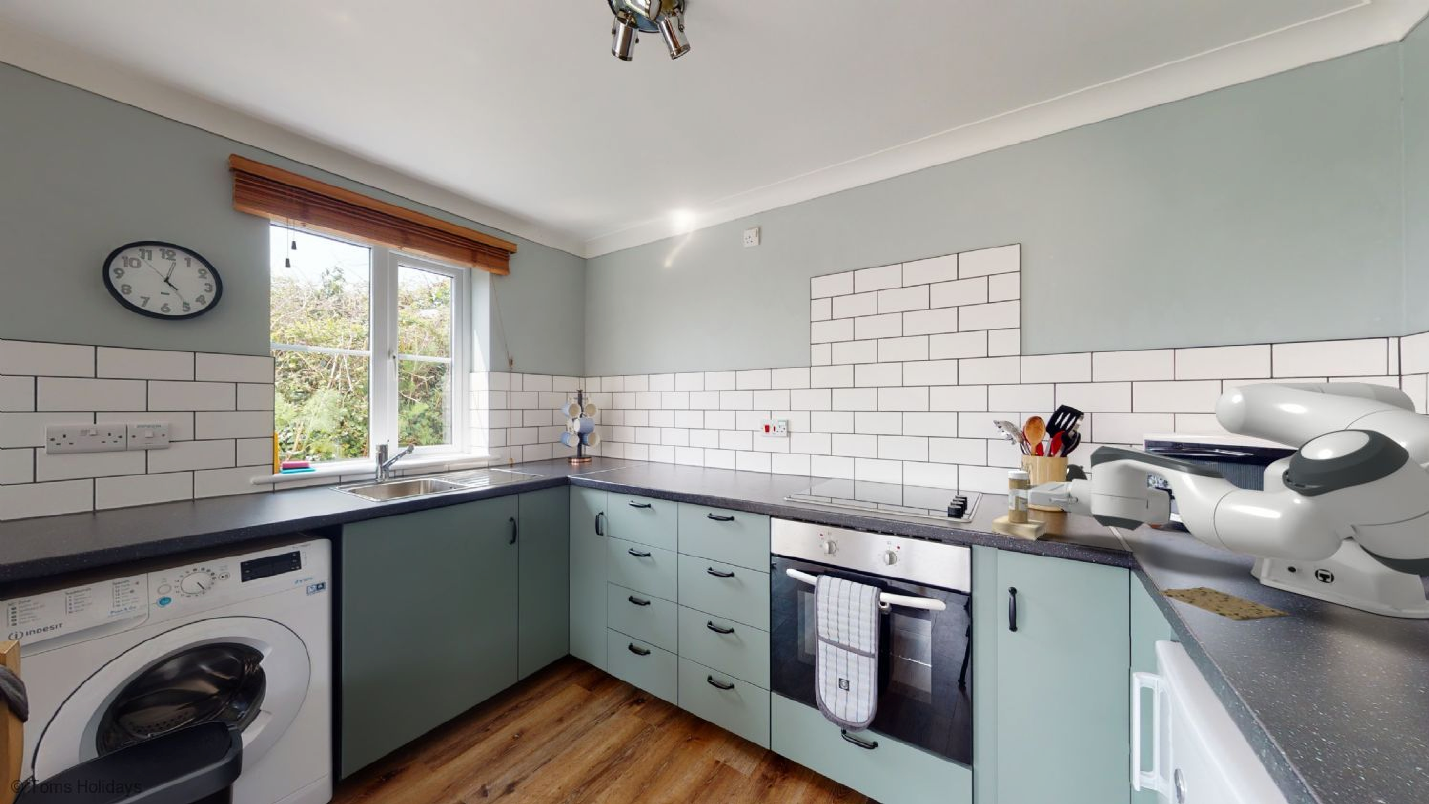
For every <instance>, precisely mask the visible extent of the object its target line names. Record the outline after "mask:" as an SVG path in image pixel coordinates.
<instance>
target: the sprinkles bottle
mask: <svg viewBox="0 0 1429 804" xmlns="http://www.w3.org/2000/svg"><path fill="white" fill-rule="evenodd" d="M1007 473H1008V475H1007V476H1008V477H1007V478H1008V516H1009V518H1008V520H1009V521H1011V522H1015V523H1027V522H1028V520H1027V519H1028V510H1029V508H1028V507H1029V505H1028V504H1029V503H1028V499H1025V498H1022V497H1019V496H1013V495H1012V494H1011V492H1012V489H1014V488H1017V489H1022V490H1027V489H1028V488H1027V486H1028V485H1029V484H1028V481H1029V471H1024V470H1008V472H1007ZM1027 484H1028V485H1027Z"/></svg>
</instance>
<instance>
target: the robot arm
mask: <svg viewBox="0 0 1429 804" xmlns="http://www.w3.org/2000/svg"><path fill="white" fill-rule="evenodd" d="M1214 409H1215V410H1214V412H1215V417H1216V420H1217V422H1218V423H1219V425H1221V427H1222V428H1223V429H1224V430H1226V432H1228V433H1230V434H1235V435H1239V436H1240V435H1241V436H1244V437H1245V436H1246V437H1249V438H1250V437H1251V438H1255V439H1256V438H1257V439H1261V440H1266V441H1269V442H1273V443H1277V444H1281V445H1284V446H1287V447H1291V448H1296V449H1298V450H1296V452H1295V453H1293V454H1292V455H1290V456H1286V457H1284V458H1280V459H1278V460H1275V461H1273V462H1272V463H1270V464H1269V465H1268V466H1267V467H1266V468H1265V470H1264V472H1263V490H1255V489H1246V488H1240V487H1239V486H1236V485H1234V484H1233V483H1231V482H1230V481H1228V480H1227V479H1226V478H1225V476H1224V475H1223V474H1222V472H1221V471H1220V470H1217V469H1215V468H1213V467H1210V466H1207V465H1203V464H1200V463H1197V462H1192V461H1187V460H1183V459H1179V458H1176V457H1175V458H1174V457H1170V456H1165V455H1160V454H1157V453H1156V454H1155V453H1152V452H1147V451H1144V450H1140V449H1138V448H1136V447H1132V446H1128V445H1124V444H1105V445H1101V446H1099V447H1098V448H1096V449H1095V451H1093V452H1092V453H1091V455H1090V456H1089V457H1090V469H1091V478H1090V479H1091V480H1089V479H1088V480H1081V479H1073V480H1072V482H1056V481H1048V482H1046V483H1045V482H1044V483H1042V484H1028V483H1027V485H1028V486H1027V488H1028V489H1027V490H1022V489H1017V488H1014V489H1012V492H1011V494H1012V495H1013V496H1019V497H1022V498H1025V499H1028V504H1030V505H1033V506H1038V507H1039V506H1040V507H1049V508H1059V509H1060V508H1063V507H1064V508H1068V509H1070V511H1071V512H1070V513H1071V514H1072V515H1075V516H1080V517H1081V516H1083V517H1087V518H1088V517H1090V518H1093V519H1095V520H1096V522H1097V523H1099V524H1100V525H1101V526H1102V527H1111V528H1119V529H1125V530H1128V531H1132V532H1134V531H1135V530H1136V529H1139V527H1141V526H1143V525H1148V524H1158V525H1162V526H1164V525H1167V524H1168V523H1169V522H1170V520H1171V516H1172V502H1171V500H1172V498H1171V496H1170V494H1169V492H1168V491H1165V490H1162V489H1158V488H1154V487H1153V488H1152V487H1149V486H1148V478H1149V477H1148V475H1149V474H1151V475H1153V476H1154V475H1155V476H1157V477H1162V478H1163V479H1165V480H1166V482H1167V484H1168V485H1169V486H1170V489H1171V491H1172V494H1173V496H1174V499H1175V503H1176V506H1177V507H1176V508H1177V511H1178V514H1179V518H1180V520H1181V522H1182V523H1183V525H1184V527H1186V529H1187V530H1188V532H1190V534H1191V535H1192V536H1194V537H1195V538H1196V539H1197V540H1199V541H1201V542H1202V543H1204V544H1205V545H1208V546H1210V547H1213V548H1215V549H1219V550H1222V551H1226V552H1230V553H1234V554H1238V555H1243V556H1248V557H1253V558H1256V559H1255V561H1254V564H1253V567H1252V569H1251V570H1250V574H1251V575H1252V577H1253V576H1254V577H1255V578H1257V579H1258V580H1259V583H1260V584H1262V585H1265V586H1268V587H1272V588H1276V589H1280V590H1282V591H1283V590H1284V591H1287V592H1291V593H1296V594H1298V595H1303V596H1306V597H1311V598H1315V599H1319V600H1323V601H1325V602H1326V601H1327V602H1330V603H1334V604H1337V605H1341V606H1347V607H1350V608H1354V609H1357V610H1361V611H1365V612H1370V613H1374V614H1378V615H1382V616H1389V617H1396V618H1404V619H1405V618H1407V619H1429V600H1428V599H1426V593H1425V589H1424V585H1423V584H1424V583H1423V582H1422V579H1421V577H1420V576H1429V416H1427V415H1425V414H1422V413H1419V412H1416V406H1415V404H1414V402H1413V400H1412V399H1411V397H1410V396H1409V395H1408V394H1407V393H1406V392H1404V391H1403V390H1402V389H1400V388H1397V387H1394V386H1388V385H1382V384H1374V383H1366V382H1365V383H1364V382H1360V381H1359V382H1356V381H1355V382H1347V381H1345V382H1339V381H1338V382H1261V383H1254V384H1253V383H1252V384H1246V385H1239V386H1233V387H1230V388H1228V389H1227V390H1225V391H1224V392H1223V393H1222V394H1221V395H1220V396H1219V397H1218V399H1217V401H1216V403H1215V407H1214Z"/></svg>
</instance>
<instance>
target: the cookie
mask: <svg viewBox="0 0 1429 804" xmlns="http://www.w3.org/2000/svg"><path fill="white" fill-rule="evenodd" d="M1157 593H1158V594H1160V595H1164V596H1165V597H1168V598H1172V599H1174V600H1177V601H1179V602H1183V603H1186V604H1188V605H1191V606H1194V607H1197V608H1199V609H1202V610H1206V611H1208V612H1211V613H1213V614H1216V615H1218V616H1221V617H1224V618H1227V619H1230V620H1234V621H1246V620H1247V621H1248V620H1258V619H1267V618H1276V617H1277V618H1279V617H1287V616H1291V614H1290V613H1288V612H1285V611H1283V610H1279V609H1275V608H1272V607H1270V606H1265V605H1264V604H1260V603H1255V602H1253V601H1250V600H1247V599H1244V598H1241V597H1238V596H1235V595H1231V594H1228V593H1225V592H1222V591H1219V590H1217V589H1213V588H1210V587H1204V586H1201V587H1192V588H1183V589H1180V588H1179V589H1176V588H1175V589H1170V588H1167V589H1165V590H1164V589H1163V590H1159V591H1157Z"/></svg>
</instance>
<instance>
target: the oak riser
mask: <svg viewBox="0 0 1429 804" xmlns="http://www.w3.org/2000/svg"><path fill="white" fill-rule="evenodd" d="M1008 518H1009V515H1005V514H1004V515H1002V516H1000V517H997V518H995V519H993V520H991V533H992V532H996V533H995V534H998V533H1000V534H999V535H1004V536H1008V537H1009V536H1010V537H1014V538H1015V537H1016V538H1020V539H1026V540H1030V541H1036V540H1038V539H1039V538H1040V537H1039V536H1041V535H1042V536H1044V535H1045V534H1046V531H1047V530H1046V529H1047V528H1046V526H1047V525H1046V521H1042V520H1041V521H1040V520H1035V519H1029V518H1027V520H1028V522H1027V523H1015V522H1011V521H1009V520H1008ZM1044 533H1045V534H1044ZM1043 534H1044V535H1043ZM1042 536H1041V537H1042ZM1038 537H1039V538H1038ZM1037 538H1038V539H1037Z"/></svg>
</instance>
